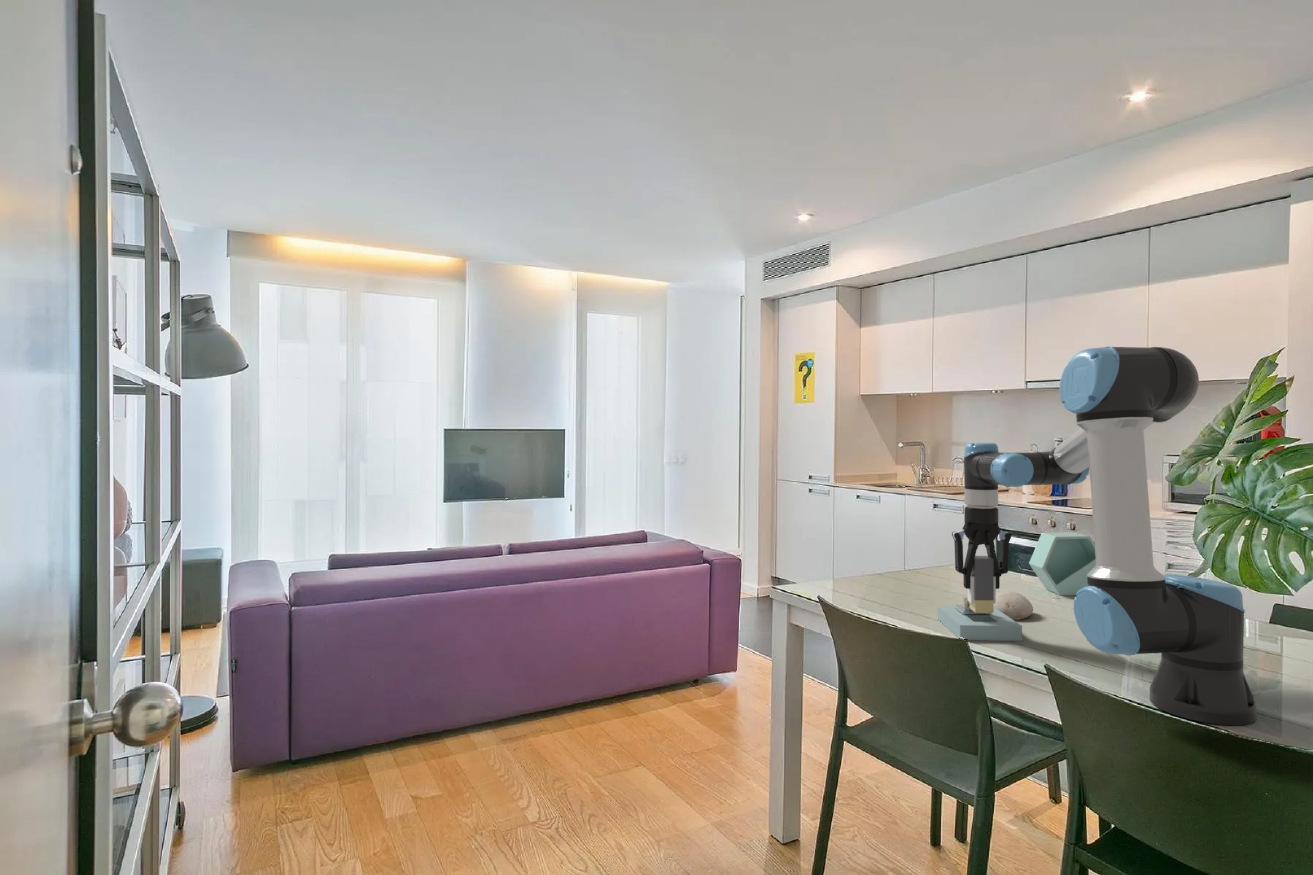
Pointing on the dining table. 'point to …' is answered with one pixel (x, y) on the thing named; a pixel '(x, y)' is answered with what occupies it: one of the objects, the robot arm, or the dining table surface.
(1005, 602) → the stone
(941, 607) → the socket board
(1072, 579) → the planter
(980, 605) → the plug
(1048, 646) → the dining table surface
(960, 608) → the shutter
